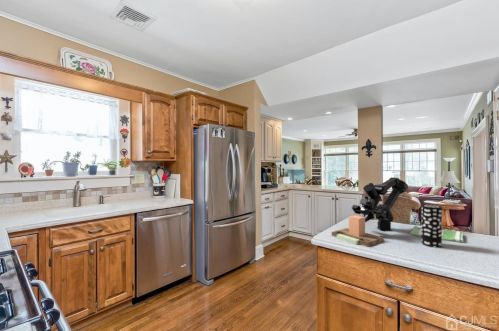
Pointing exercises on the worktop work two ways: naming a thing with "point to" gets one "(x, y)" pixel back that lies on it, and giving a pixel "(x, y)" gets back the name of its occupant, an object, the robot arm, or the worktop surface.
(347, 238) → the green end pad
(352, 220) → the terracotta block
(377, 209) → the robot arm
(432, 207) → the spotted tube
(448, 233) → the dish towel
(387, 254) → the worktop surface
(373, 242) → the walnut board
